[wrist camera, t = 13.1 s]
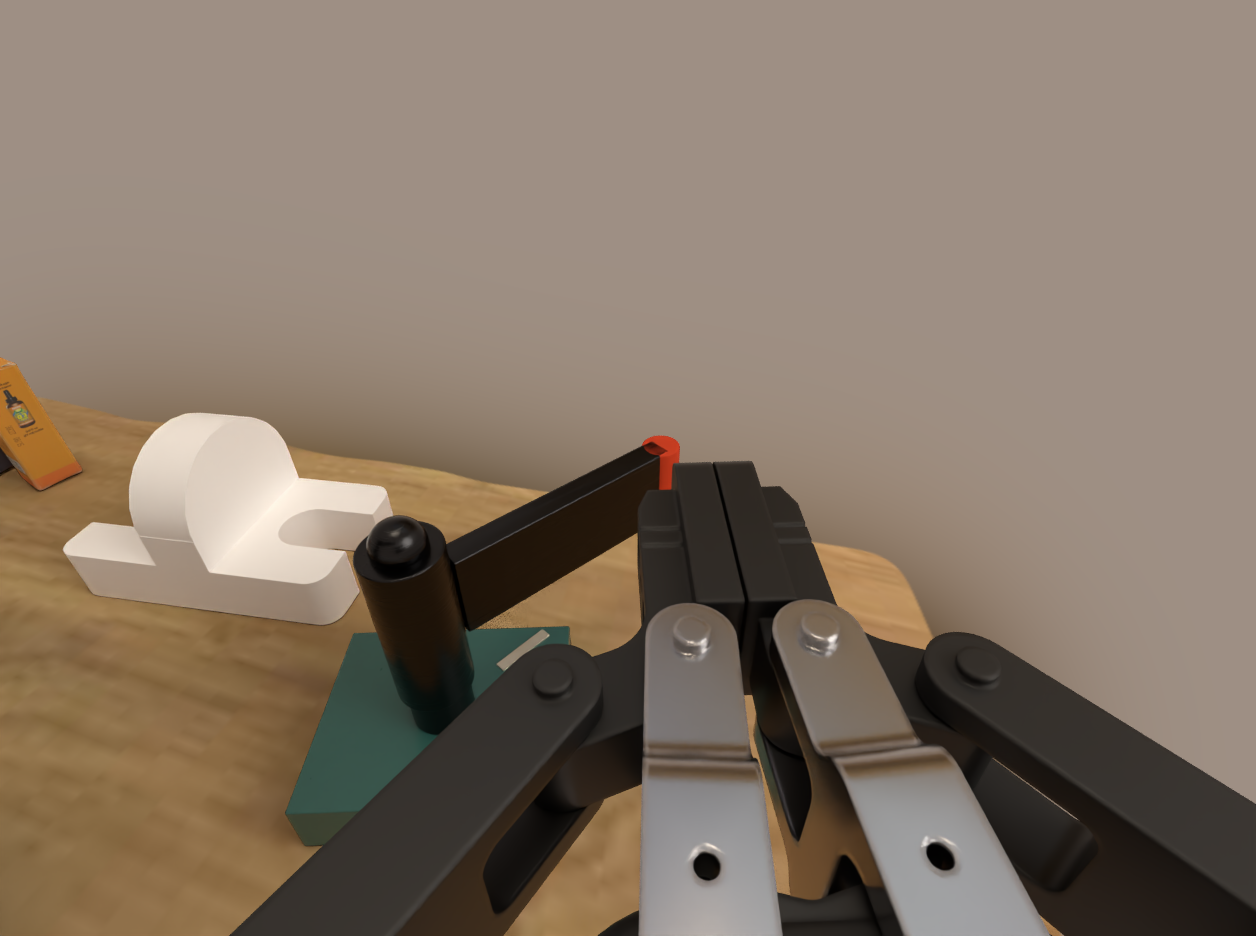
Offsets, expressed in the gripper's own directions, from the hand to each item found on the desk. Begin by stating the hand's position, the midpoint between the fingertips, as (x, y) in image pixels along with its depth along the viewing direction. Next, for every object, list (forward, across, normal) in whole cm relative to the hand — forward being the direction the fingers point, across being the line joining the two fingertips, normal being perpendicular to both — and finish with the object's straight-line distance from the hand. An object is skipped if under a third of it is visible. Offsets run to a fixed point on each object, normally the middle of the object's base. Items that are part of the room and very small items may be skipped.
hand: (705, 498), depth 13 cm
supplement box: (+35, +47, +24) cm, 64 cm away
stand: (+10, +10, +24) cm, 28 cm away
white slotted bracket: (+24, +27, +24) cm, 44 cm away
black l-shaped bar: (+14, +5, +19) cm, 24 cm away
